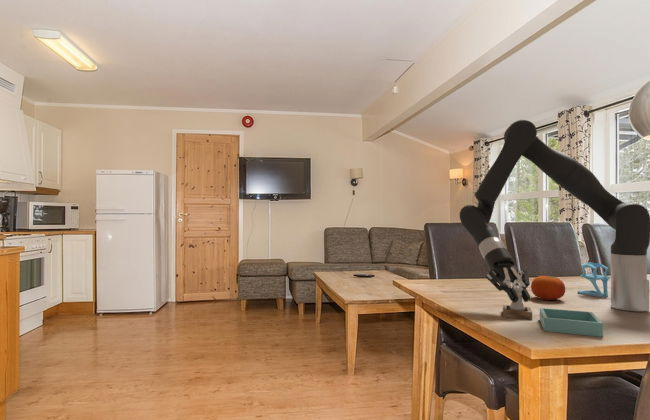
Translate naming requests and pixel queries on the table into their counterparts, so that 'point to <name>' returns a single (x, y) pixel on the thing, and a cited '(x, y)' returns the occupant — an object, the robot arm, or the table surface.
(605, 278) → the chair
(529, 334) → the table surface
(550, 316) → the tray
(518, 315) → the socket collar
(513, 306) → the rook chess piece
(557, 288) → the fruit
